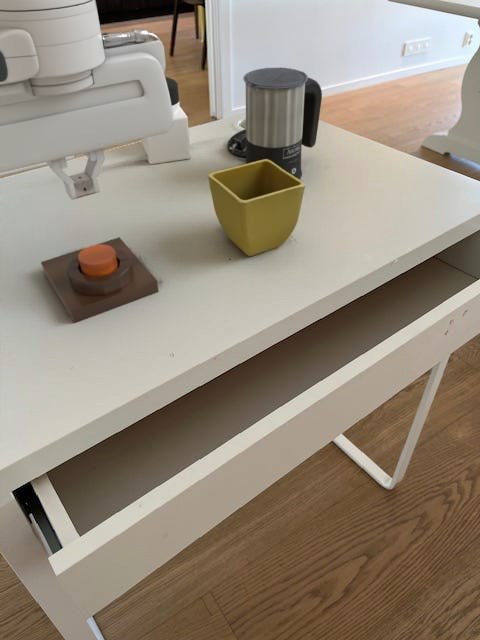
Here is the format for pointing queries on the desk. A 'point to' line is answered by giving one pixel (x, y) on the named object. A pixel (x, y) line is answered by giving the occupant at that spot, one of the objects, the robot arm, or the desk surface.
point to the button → (97, 260)
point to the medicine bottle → (170, 134)
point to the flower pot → (256, 204)
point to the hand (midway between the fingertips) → (83, 194)
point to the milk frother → (278, 118)
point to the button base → (99, 282)
